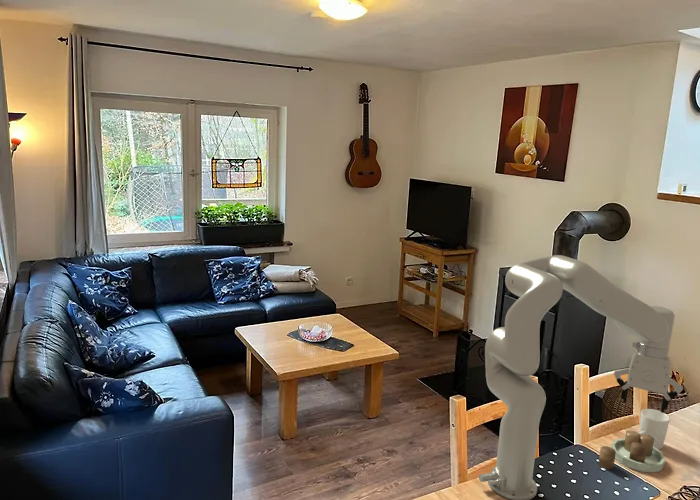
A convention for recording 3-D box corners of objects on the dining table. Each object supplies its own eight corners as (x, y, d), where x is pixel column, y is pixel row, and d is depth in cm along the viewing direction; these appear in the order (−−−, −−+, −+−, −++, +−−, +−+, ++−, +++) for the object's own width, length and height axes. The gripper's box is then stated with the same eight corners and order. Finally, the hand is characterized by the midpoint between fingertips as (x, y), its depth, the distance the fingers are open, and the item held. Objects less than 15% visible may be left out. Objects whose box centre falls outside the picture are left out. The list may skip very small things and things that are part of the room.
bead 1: (605, 470, 152) (607, 454, 152) (595, 462, 156) (597, 446, 155) (616, 468, 154) (618, 453, 153) (606, 460, 157) (608, 445, 156)
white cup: (668, 452, 163) (673, 422, 161) (641, 448, 165) (645, 419, 163) (659, 439, 171) (664, 410, 169) (633, 435, 172) (637, 407, 170)
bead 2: (628, 462, 155) (631, 447, 154) (629, 455, 158) (631, 440, 158) (644, 466, 153) (646, 451, 152) (644, 460, 157) (646, 444, 156)
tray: (635, 475, 151) (638, 456, 149) (600, 448, 164) (603, 430, 163) (674, 469, 154) (678, 450, 153) (637, 443, 168) (640, 426, 166)
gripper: (618, 347, 150) (609, 402, 153) (689, 361, 142) (678, 420, 145) (619, 339, 157) (611, 393, 160) (688, 353, 148) (677, 409, 152)
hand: (643, 406), depth 152 cm, fingers open, 9 cm apart
